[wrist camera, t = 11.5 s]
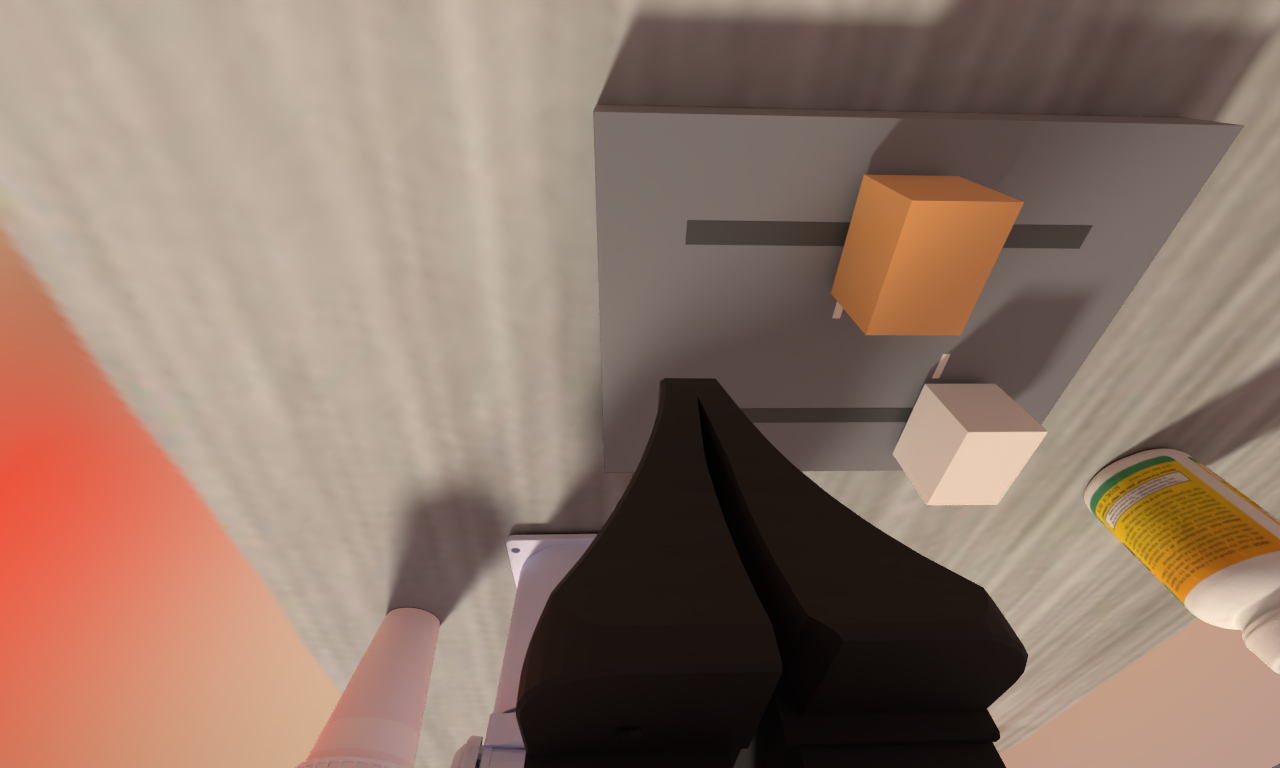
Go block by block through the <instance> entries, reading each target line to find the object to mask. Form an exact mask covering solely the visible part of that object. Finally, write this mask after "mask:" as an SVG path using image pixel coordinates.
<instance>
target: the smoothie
mask: <svg viewBox="0 0 1280 768" xmlns="http://www.w3.org/2000/svg"><path fill="white" fill-rule="evenodd" d="M439 627H440V621H439V619H438V618H437V617H436V616H435V615H433V614H432V613H430V612H427V611H425V610H421V609H417V608H398V609H394V610H392V611H390V612H389V613H388V614H387V615H386V617H385V618H384V620H383V622H382V624H381V626H380V627H379V629H378V631H377V633H376V635H375V636H374V638H373V640H372V642H371V644H370V645H369V647H368V649H367V651H366V653H365V654H364V656H363V658H362V660H361V662H360V664H359V665H358V667H357V669H356V671H355V673H354V674H353V676H352V678H351V680H350V682H349V683H348V685H347V687H346V689H345V691H344V692H343V694H342V696H341V698H340V700H339V701H338V703H337V705H336V707H335V709H334V710H333V712H332V714H331V716H330V718H329V720H328V721H327V723H326V725H325V726H324V728H323V730H322V732H321V734H320V735H319V737H318V739H317V741H316V743H315V745H314V747H313V749H312V750H311V752H310V754H309V756H308V758H307V759H306V761H304V762H302V763H300V764H299V765H298V766H296V767H295V768H413V767H414V762H415V757H416V752H417V747H418V742H419V735H420V730H421V725H422V719H423V714H424V708H425V703H426V697H427V692H428V687H429V681H430V676H431V670H432V665H433V660H434V654H435V649H436V643H437V638H438V633H439Z"/></svg>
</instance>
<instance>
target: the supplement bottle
mask: <svg viewBox="0 0 1280 768" xmlns="http://www.w3.org/2000/svg"><path fill="white" fill-rule="evenodd" d="M1084 499H1085V503H1086V505H1087V507H1088V508H1089V510H1090V511H1091V512H1092V513H1093V514H1094V515H1095V516H1096V517H1097V518H1098V519H1099V520H1100V521H1101V522H1102V523H1103V524H1104V525H1105V526H1106V527H1107V528H1108V529H1109V530H1110V531H1111V532H1112V533H1113V534H1114V535H1115V536H1116V537H1117V538H1118V539H1119V540H1120V541H1121V542H1122V543H1123V544H1124V545H1125V546H1126V547H1127V548H1128V549H1129V550H1130V552H1131V553H1132V554H1133V555H1134V556H1135V557H1136V558H1138V559H1139V560H1140V561H1141V562H1142V563H1143V564H1144V565H1145V566H1146V568H1147V569H1148V570H1150V571H1151V572H1152V573H1153V574H1154V575H1155V576H1156V577H1157V578H1158V580H1159V581H1160V582H1161V583H1162V584H1163V585H1164V586H1165V587H1166V588H1167V589H1168V590H1169V591H1170V592H1171V593H1172V594H1173V595H1174V596H1175V597H1176V598H1177V599H1178V600H1179V601H1180V602H1181V603H1182V604H1183V605H1184V606H1185V607H1186V608H1187V609H1188V610H1189V611H1190V612H1191V613H1192V614H1194V615H1195V616H1196V617H1198V618H1199V619H1201V620H1203V621H1204V622H1207V623H1209V624H1211V625H1214V626H1218V627H1221V628H1227V629H1236V630H1242V632H1243V633H1242V638H1243V639H1244V641H1245V644H1246V646H1247V647H1248V648H1249V649H1250V650H1251V651H1252V652H1253V653H1255V654H1256V655H1257V656H1258V657H1259V658H1260V659H1261V660H1262V661H1263V662H1264V663H1265V664H1266V665H1268V666H1269V667H1270V668H1271V669H1272V670H1273V671H1275V672H1276V673H1278V674H1280V521H1279V520H1278V519H1277V518H1275V517H1274V516H1273V515H1271V514H1270V513H1268V512H1267V511H1266V510H1264V509H1263V508H1261V507H1260V506H1259V505H1257V504H1256V503H1255V502H1253V501H1252V500H1251V499H1249V498H1248V497H1246V496H1245V495H1244V494H1242V493H1241V492H1240V491H1238V490H1237V489H1236V488H1234V487H1233V486H1232V485H1230V484H1229V483H1228V482H1226V481H1225V480H1224V479H1222V478H1221V477H1220V476H1218V475H1217V474H1215V473H1214V472H1213V471H1211V470H1210V469H1209V468H1207V467H1206V466H1204V465H1203V464H1201V463H1200V462H1199V461H1197V460H1196V459H1194V458H1193V457H1191V456H1190V455H1188V454H1186V453H1184V452H1182V451H1179V450H1174V449H1152V450H1146V451H1142V452H1139V453H1136V454H1134V455H1131V456H1128V457H1125V458H1123V459H1120V460H1118V461H1116V462H1114V463H1112V464H1110V465H1109V466H1107V467H1105V468H1104V469H1103V470H1101V471H1100V472H1099V473H1098V474H1097V475H1096V476H1095V477H1094V478H1093V479H1092V480H1091V481H1090V483H1089V484H1088V486H1087V488H1086V490H1085V494H1084Z"/></svg>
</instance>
